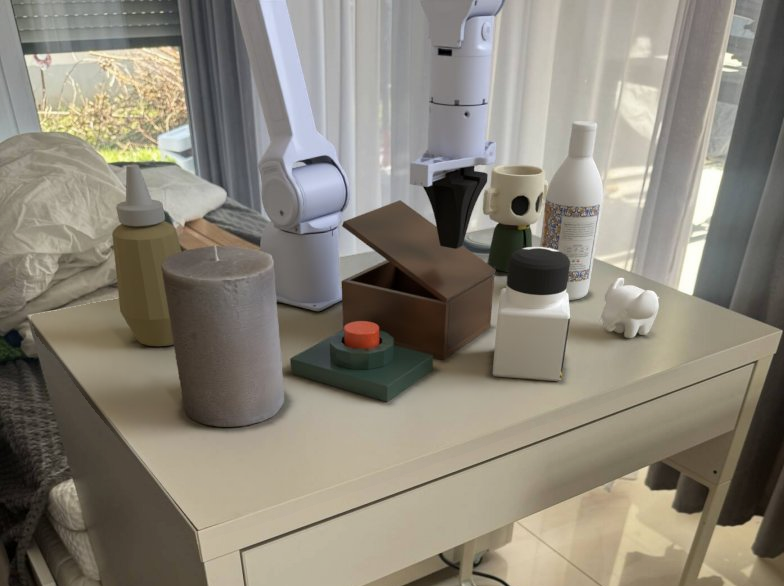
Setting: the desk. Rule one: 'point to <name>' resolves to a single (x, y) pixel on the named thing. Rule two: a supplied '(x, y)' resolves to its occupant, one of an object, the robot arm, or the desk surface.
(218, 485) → the desk surface
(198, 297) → the pillar candle
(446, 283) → the lid
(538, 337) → the medicine bottle
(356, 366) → the button block
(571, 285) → the bath foam
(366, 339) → the button
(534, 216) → the character mug
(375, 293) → the box
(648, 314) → the elephant figurine
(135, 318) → the squeeze bottle
